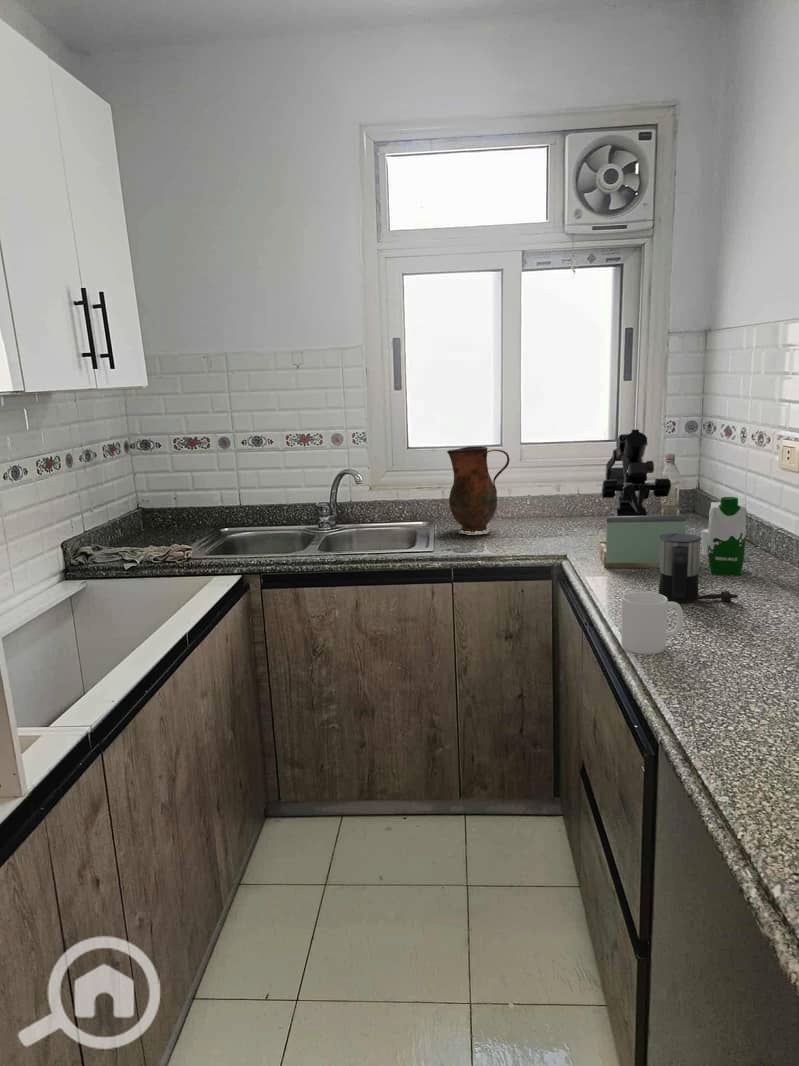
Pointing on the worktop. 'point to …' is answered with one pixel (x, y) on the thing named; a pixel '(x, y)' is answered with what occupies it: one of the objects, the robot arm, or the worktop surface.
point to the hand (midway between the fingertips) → (638, 512)
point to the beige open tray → (623, 565)
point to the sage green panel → (639, 537)
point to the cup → (647, 622)
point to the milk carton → (726, 536)
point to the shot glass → (704, 541)
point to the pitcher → (473, 488)
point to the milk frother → (682, 569)
